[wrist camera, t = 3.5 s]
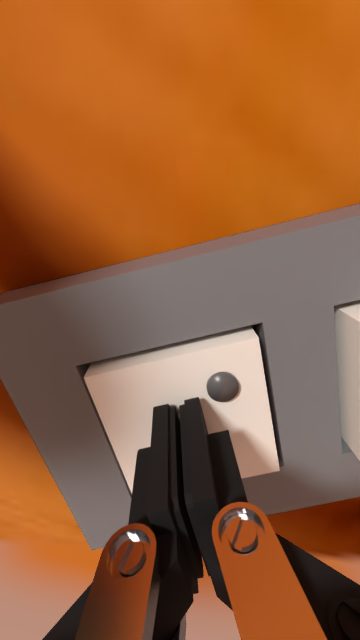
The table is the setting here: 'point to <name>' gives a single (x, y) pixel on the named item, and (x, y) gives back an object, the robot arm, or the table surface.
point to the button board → (183, 324)
